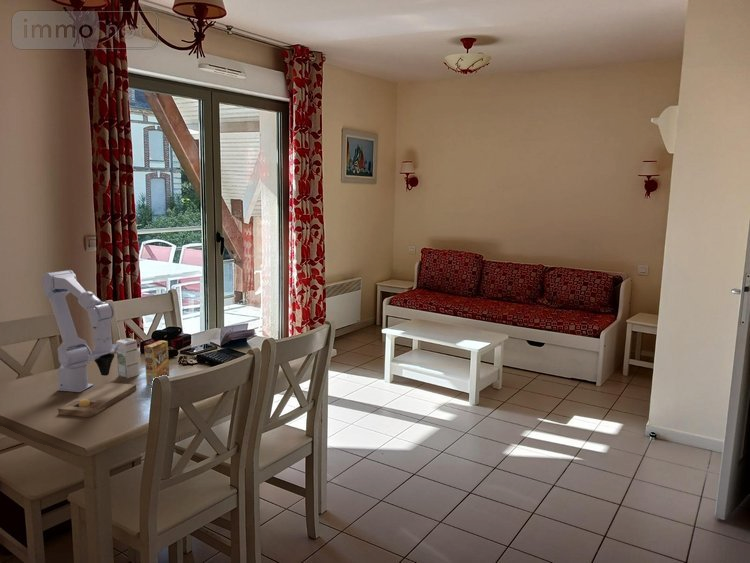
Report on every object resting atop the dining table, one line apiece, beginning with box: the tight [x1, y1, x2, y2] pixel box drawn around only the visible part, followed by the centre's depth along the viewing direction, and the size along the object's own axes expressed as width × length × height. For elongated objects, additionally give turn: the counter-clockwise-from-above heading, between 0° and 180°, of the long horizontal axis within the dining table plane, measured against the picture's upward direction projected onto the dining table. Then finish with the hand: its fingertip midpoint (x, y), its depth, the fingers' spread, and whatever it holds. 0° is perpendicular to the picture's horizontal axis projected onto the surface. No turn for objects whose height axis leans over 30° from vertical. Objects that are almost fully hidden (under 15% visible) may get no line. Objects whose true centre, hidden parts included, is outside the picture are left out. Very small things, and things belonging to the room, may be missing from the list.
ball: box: [79, 399, 90, 408], centre depth 199 cm, size 4×4×4 cm
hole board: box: [57, 381, 137, 418], centre depth 206 cm, size 12×26×2 cm, turn 170°
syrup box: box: [115, 337, 140, 379], centre depth 232 cm, size 6×6×14 cm
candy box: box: [143, 339, 170, 386], centre depth 225 cm, size 9×4×15 cm, turn 162°
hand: (105, 374), depth 208 cm, fingers closed
